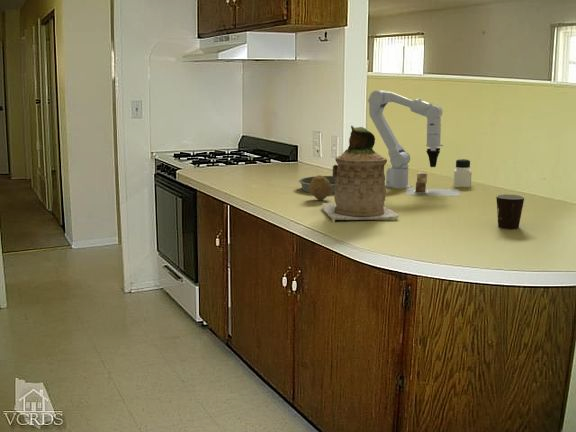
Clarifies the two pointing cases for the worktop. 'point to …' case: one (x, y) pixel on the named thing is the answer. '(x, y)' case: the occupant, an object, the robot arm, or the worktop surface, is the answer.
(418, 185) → the walnut block
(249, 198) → the worktop surface
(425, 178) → the maple block
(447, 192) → the grey flat slab
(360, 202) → the cookie jar
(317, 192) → the natural sponge
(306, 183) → the cake pan
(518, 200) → the coffee mug
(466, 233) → the worktop surface
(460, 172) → the medicine bottle
